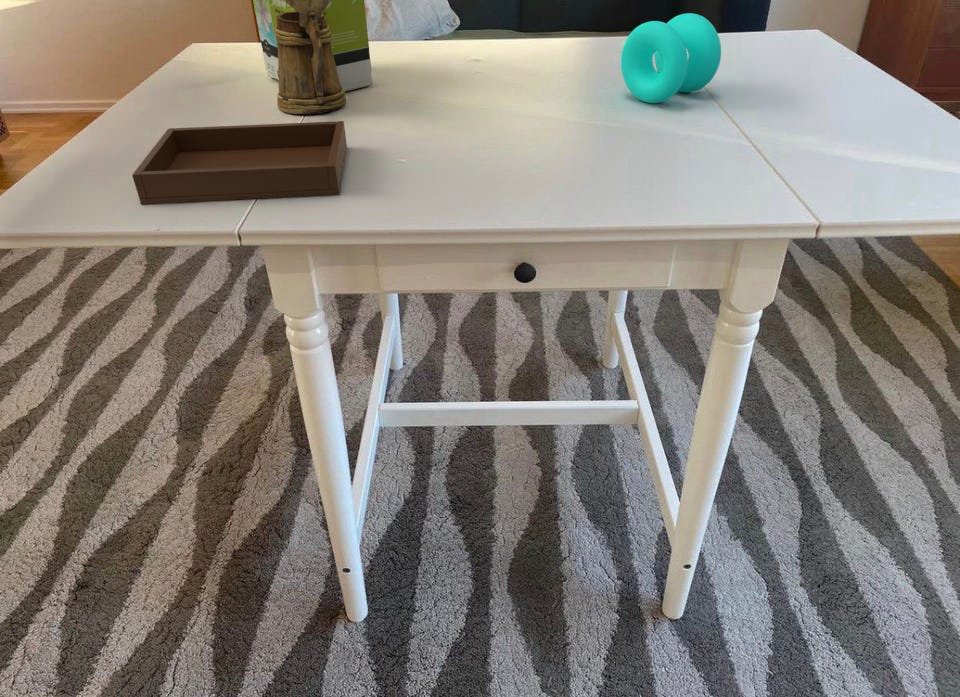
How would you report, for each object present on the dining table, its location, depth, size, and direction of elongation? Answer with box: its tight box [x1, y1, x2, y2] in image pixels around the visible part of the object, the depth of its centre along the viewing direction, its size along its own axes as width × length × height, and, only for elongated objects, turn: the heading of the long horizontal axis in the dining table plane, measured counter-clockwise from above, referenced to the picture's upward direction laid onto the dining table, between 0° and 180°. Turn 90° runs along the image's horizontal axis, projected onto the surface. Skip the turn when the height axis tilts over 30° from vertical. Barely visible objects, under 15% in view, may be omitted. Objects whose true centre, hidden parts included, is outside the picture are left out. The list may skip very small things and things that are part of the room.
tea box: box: [252, 0, 373, 92], centre depth 102 cm, size 15×10×15 cm
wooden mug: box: [275, 0, 347, 115], centre depth 91 cm, size 9×14×18 cm, turn 27°
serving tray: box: [131, 120, 348, 205], centre depth 77 cm, size 20×14×3 cm
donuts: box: [620, 12, 722, 104], centre depth 96 cm, size 10×10×10 cm
